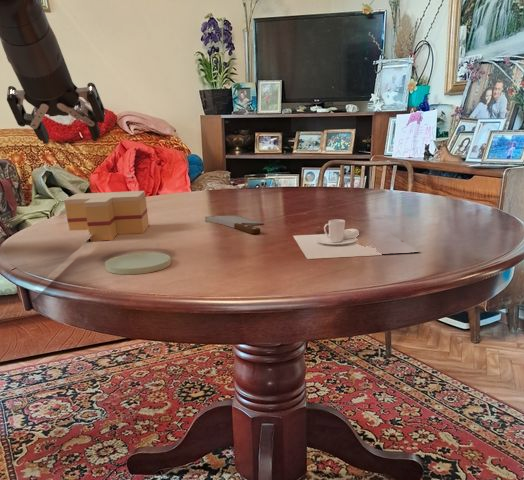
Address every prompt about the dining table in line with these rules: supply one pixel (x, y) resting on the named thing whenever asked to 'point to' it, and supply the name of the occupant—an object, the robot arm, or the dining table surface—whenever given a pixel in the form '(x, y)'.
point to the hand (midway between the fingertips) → (71, 138)
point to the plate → (138, 263)
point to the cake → (124, 205)
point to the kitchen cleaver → (236, 223)
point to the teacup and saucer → (333, 243)
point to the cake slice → (100, 219)
